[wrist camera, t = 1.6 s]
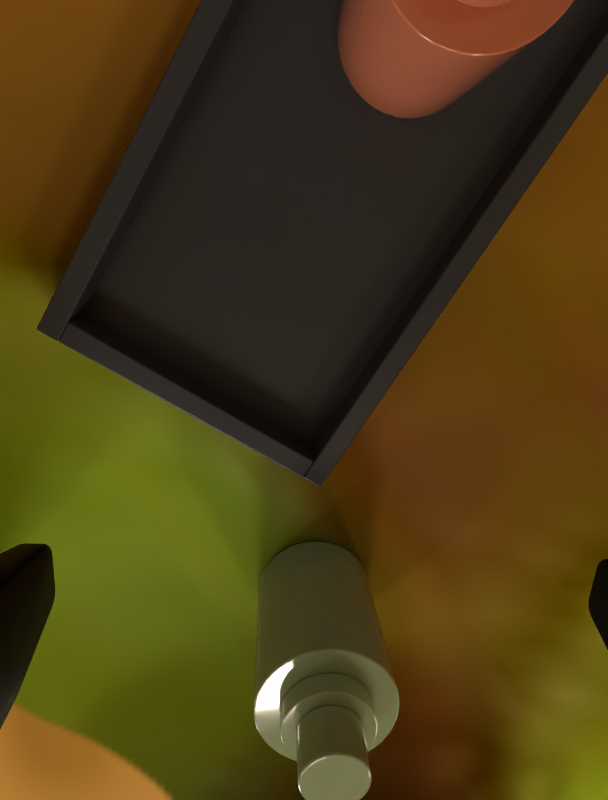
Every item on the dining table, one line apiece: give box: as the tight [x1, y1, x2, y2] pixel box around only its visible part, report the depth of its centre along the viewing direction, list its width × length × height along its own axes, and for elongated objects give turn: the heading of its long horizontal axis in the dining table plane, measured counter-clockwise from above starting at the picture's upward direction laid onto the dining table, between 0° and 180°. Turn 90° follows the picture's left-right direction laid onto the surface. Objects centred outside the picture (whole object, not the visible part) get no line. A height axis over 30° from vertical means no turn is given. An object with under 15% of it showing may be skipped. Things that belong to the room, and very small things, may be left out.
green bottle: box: [253, 541, 400, 800], centre depth 20 cm, size 5×5×9 cm
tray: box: [37, 0, 608, 486], centre depth 17 cm, size 12×30×2 cm, turn 148°
